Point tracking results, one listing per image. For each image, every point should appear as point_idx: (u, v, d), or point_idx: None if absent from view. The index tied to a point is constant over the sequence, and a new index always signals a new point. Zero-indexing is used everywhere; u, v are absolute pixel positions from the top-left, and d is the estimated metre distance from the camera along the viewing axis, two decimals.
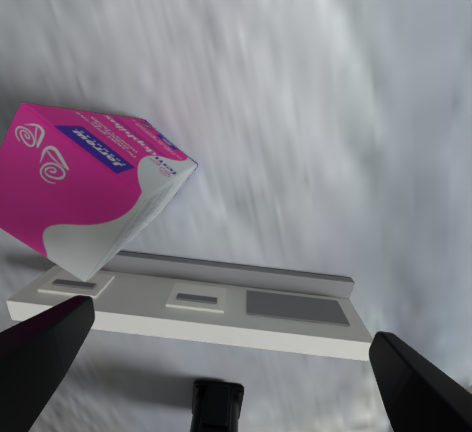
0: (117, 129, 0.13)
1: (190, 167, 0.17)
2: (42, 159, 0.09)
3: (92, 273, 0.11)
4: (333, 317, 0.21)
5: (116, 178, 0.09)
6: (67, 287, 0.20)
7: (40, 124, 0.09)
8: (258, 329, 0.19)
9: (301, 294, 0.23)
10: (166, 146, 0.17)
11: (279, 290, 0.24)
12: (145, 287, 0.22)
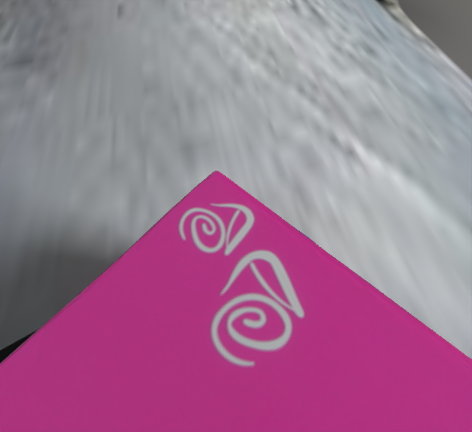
0: None
1: None
2: (231, 285, 0.03)
3: None
4: None
5: (440, 343, 0.03)
6: None
7: (248, 205, 0.04)
8: None
9: None
10: None
11: None
12: None
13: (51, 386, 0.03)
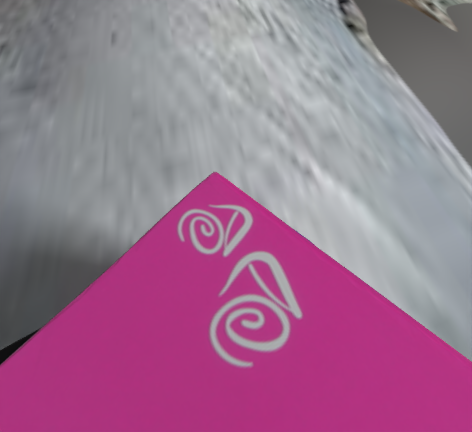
0: None
1: None
2: (230, 286, 0.03)
3: None
4: None
5: (438, 343, 0.03)
6: None
7: (246, 206, 0.04)
8: None
9: None
10: None
11: None
12: None
13: (51, 387, 0.03)
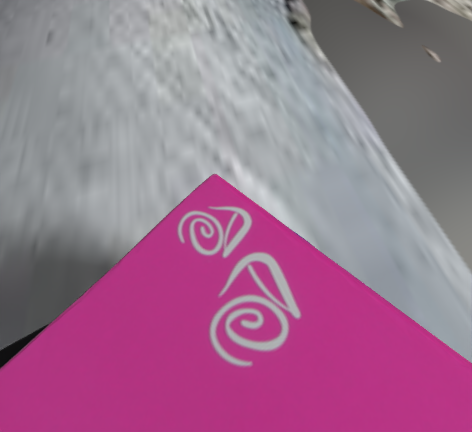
0: None
1: None
2: (230, 287, 0.03)
3: None
4: None
5: (433, 342, 0.03)
6: None
7: (245, 208, 0.04)
8: None
9: None
10: None
11: None
12: None
13: (54, 387, 0.03)
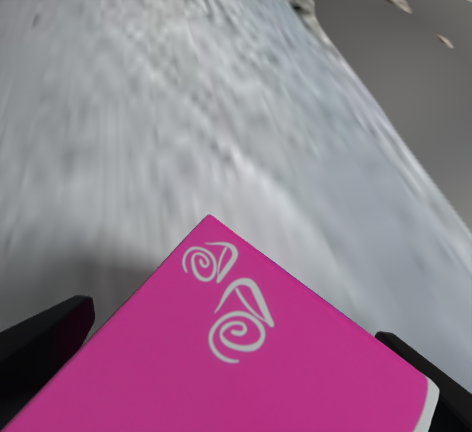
0: None
1: None
2: (222, 305, 0.04)
3: None
4: None
5: (369, 341, 0.04)
6: None
7: (233, 243, 0.05)
8: None
9: None
10: None
11: None
12: None
13: (100, 383, 0.04)
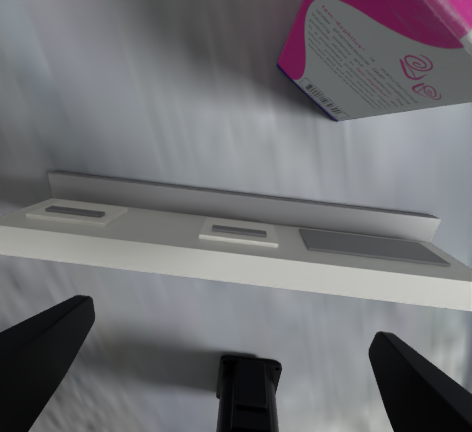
0: None
1: None
2: None
3: None
4: (424, 257, 0.15)
5: None
6: (66, 214, 0.15)
7: None
8: (331, 264, 0.13)
9: (368, 236, 0.18)
10: None
11: (339, 231, 0.18)
12: (168, 221, 0.17)
13: None
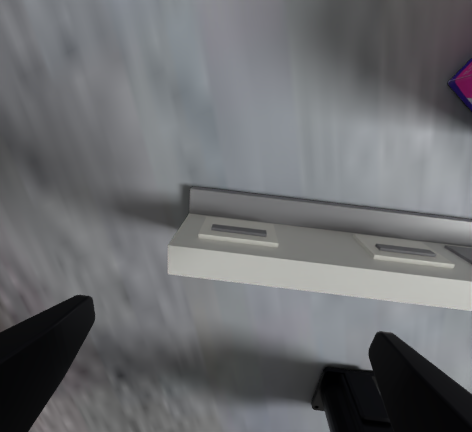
0: None
1: None
2: None
3: None
4: None
5: None
6: (233, 233, 0.15)
7: None
8: None
9: None
10: None
11: None
12: (322, 239, 0.16)
13: None
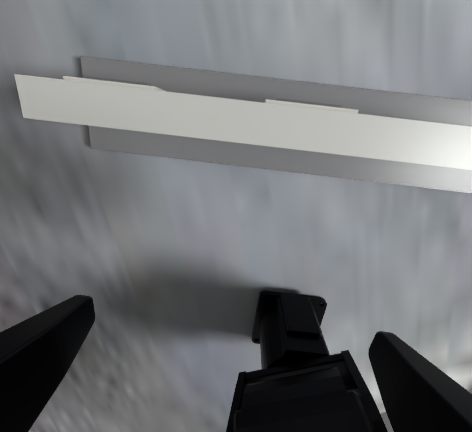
0: None
1: None
2: None
3: None
4: None
5: None
6: None
7: None
8: (428, 121, 0.11)
9: None
10: None
11: None
12: None
13: None
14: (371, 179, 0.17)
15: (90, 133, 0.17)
